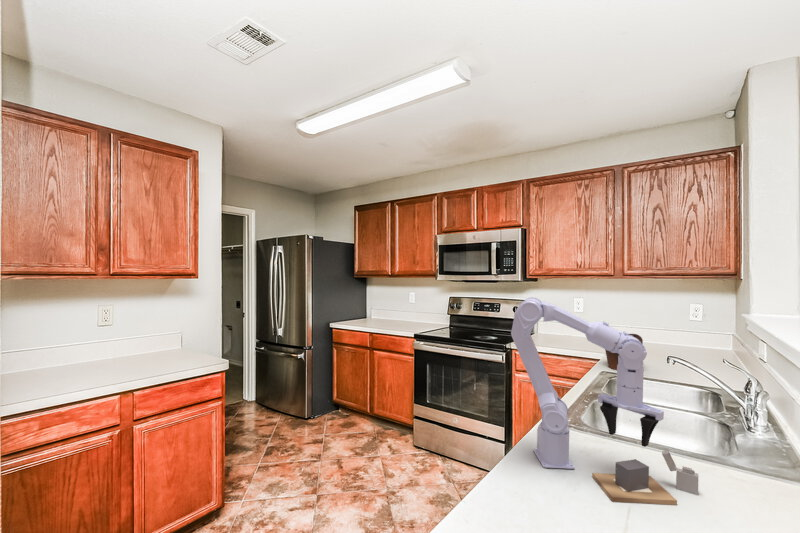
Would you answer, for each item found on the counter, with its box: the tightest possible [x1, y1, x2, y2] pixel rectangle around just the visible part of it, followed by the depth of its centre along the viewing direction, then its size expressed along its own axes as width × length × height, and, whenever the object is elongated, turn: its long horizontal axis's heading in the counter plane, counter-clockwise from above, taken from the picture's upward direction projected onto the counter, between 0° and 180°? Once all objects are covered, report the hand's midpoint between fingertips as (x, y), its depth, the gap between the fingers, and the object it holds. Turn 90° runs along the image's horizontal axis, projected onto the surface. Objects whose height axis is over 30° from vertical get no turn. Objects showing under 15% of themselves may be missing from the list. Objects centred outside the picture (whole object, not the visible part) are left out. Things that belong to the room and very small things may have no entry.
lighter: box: [661, 450, 699, 496], centre depth 92 cm, size 7×2×8 cm, turn 53°
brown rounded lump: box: [604, 333, 644, 371], centre depth 201 cm, size 18×20×18 cm
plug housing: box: [614, 458, 650, 492], centre depth 91 cm, size 4×6×5 cm, turn 106°
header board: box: [591, 472, 678, 506], centre depth 91 cm, size 10×14×3 cm
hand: (628, 439), depth 97 cm, fingers open, 7 cm apart
